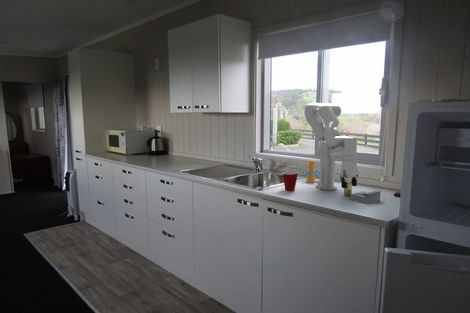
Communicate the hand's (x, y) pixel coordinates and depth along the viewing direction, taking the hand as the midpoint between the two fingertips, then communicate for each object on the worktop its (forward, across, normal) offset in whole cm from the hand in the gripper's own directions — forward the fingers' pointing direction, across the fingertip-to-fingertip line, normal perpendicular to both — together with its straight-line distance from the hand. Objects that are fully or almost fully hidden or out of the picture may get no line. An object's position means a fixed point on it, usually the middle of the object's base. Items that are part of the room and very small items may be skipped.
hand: (349, 187), depth 192 cm
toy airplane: (+4, -14, -41) cm, 44 cm away
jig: (+6, 0, +10) cm, 12 cm away
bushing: (+6, 0, -1) cm, 6 cm away
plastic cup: (+5, +18, -31) cm, 36 cm away
